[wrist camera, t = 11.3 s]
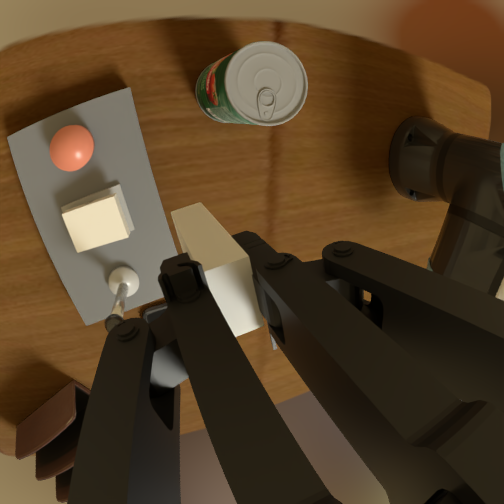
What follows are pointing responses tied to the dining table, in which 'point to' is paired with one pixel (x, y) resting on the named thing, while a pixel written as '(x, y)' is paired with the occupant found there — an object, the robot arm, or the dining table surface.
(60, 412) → the letter holder
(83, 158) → the push button
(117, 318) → the toggle lever
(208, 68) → the canned tomato
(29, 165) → the control panel
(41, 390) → the dining table surface
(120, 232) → the rocker switch
